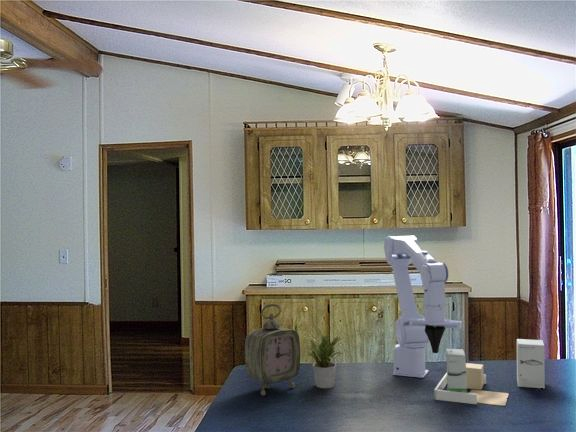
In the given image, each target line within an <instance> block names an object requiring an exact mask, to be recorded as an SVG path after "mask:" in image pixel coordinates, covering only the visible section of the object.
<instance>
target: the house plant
mask: <svg viewBox="0 0 576 432" xmlns="http://www.w3.org/2000/svg"><path fill="white" fill-rule="evenodd" d="M319 333H320V337H321V339H320V340H321V342H320V343H318V347H317V345H316V344H315V342H314V341H313V340H312V339H311V338H310V337H308V335H304V337H305V338H307V340H306V342H307V343H310V345H311V352H308V353H307V352H306V357H307V356H309V357H310V356H311V358H313V359H314V361H315V362H314V363H312V370H313V375H314V377H313V378H314V382H315V386H316V388H319V389H331V388H333V387H334V385H335V378H336V369H337V364H336V363H335V362H333V361H332V360H333V358H334V356H335V355H337V357H338V356H339V355H344V351H342V352H340V351H338V352H336V350H335V349H336V348H337V347H338V346H339V345H340V344H342V342H340V343H338V342H339V341H341V340H342V339H348V336H344V337H340V336H342V335H343V333H340V334H339V335H337V336H336V337H334V338H333V340H331V341H329V335H328V331H326V330H325V333H324V332H323V333H322V332H321V331H319ZM337 343H338V344H337ZM336 344H337V345H336ZM335 345H336V346H335Z"/></svg>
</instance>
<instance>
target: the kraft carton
mask: <svg viewBox="0 0 576 432" xmlns="http://www.w3.org/2000/svg"><path fill="white" fill-rule="evenodd" d="M483 374H484V364H481V363H470V362H466V379H467V389H469V390H470V389H472V390H481V391H482V389H483V387H484V385H485V384H484V378H483Z"/></svg>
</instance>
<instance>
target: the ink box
mask: <svg viewBox="0 0 576 432" xmlns="http://www.w3.org/2000/svg"><path fill="white" fill-rule="evenodd" d="M445 352H446V353H445V355H446V372H447V384H446V386H447V391H455V392H464V393H468V388H467V379H466V363H467V362H466V353H465V350H464V349H461V348H459V349H458V348H445Z"/></svg>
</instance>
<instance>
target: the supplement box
mask: <svg viewBox="0 0 576 432" xmlns="http://www.w3.org/2000/svg"><path fill="white" fill-rule="evenodd" d="M544 343H545V342H544V340H543V339H524V338H517V339H516V382H517V387H518V388H534V389H541V388H543V390H544V389H546V380H545V379H546V377H545V372H546V368H545V366H546V365H545V361H546V360H545V359H546V357H545V353H546V352H545V351H546V350H545V348H546V347H545V344H544Z"/></svg>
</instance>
